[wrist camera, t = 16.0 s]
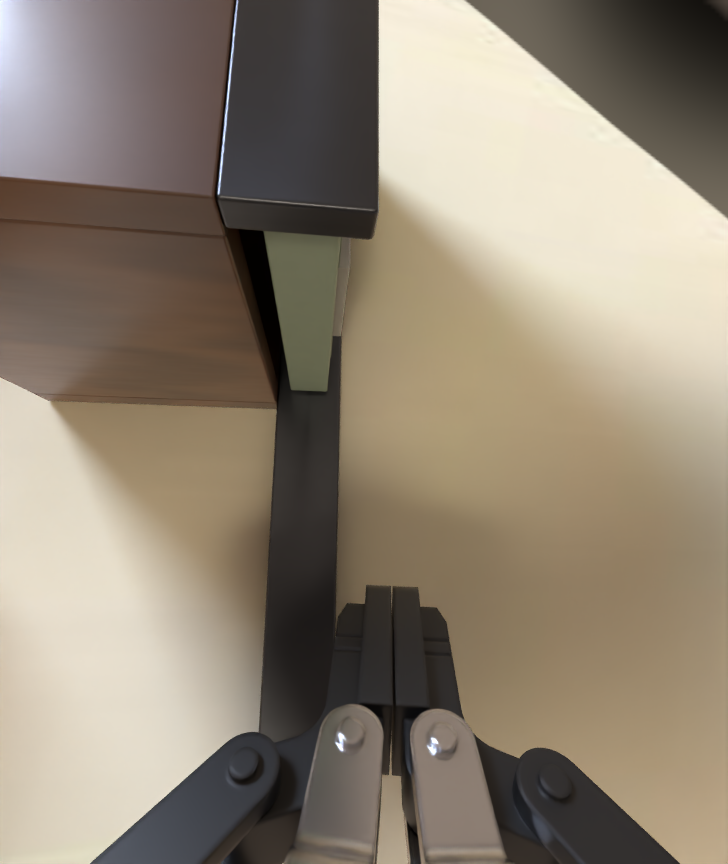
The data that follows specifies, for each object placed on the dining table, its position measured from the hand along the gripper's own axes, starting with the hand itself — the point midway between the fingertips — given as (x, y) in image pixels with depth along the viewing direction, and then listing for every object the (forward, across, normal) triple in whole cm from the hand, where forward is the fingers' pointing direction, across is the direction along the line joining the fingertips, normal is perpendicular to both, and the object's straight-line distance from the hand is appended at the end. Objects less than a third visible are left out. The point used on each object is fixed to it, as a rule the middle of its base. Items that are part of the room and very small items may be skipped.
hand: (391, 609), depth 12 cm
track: (+9, -4, +3) cm, 10 cm away
